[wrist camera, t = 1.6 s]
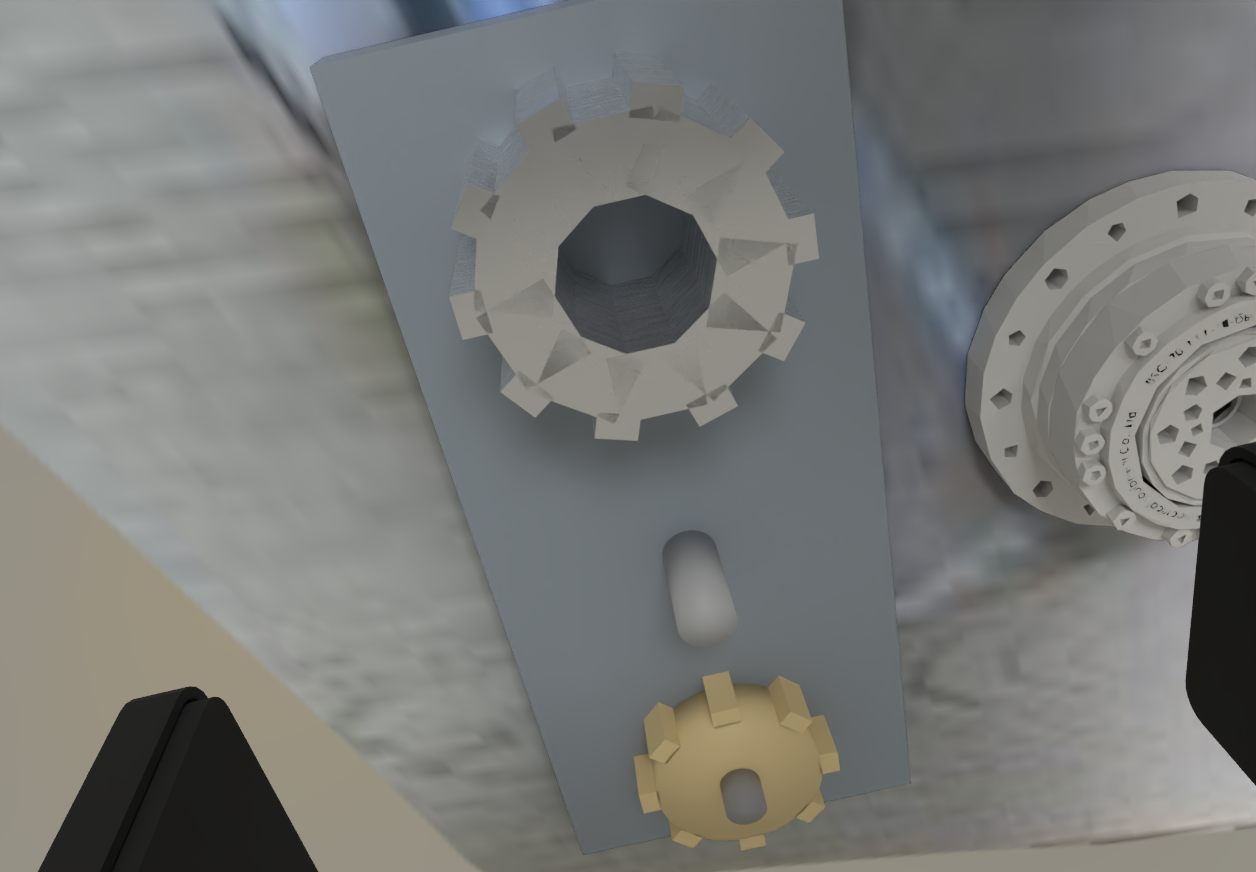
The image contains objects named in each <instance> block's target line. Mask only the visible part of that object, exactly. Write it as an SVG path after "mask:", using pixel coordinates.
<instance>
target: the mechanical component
mask: <svg viewBox="0 0 1256 872" xmlns="http://www.w3.org/2000/svg"><path fill="white" fill-rule="evenodd" d="M965 407H966V410H967V414H968V417H969V420H970V424H971V427H972V431H973V434H974V438H975V441H976V443H977V444H978V446H979V447H980V449H981V450H982V452H983V453H984V455H985V456H986V458H987V459H988V461H989V462H990V463H991V465H992V466H993V468H994V469H995V471H996V472H997V473H998V474H999V476H1000V477H1001V478H1002V479H1003V480H1004V482H1005V483H1006V484H1007V485H1008V487H1009V488H1010V489H1011V490H1012V491H1013V493H1014V494H1016V495H1017V496H1019V497H1020V498H1022V499H1023V500H1025V501H1026V502H1028V503H1029V504H1031V505H1032V506H1034V507H1036V508H1037V509H1039V510H1040V511H1042V512H1045V513H1048V514H1051V515H1053V516H1056V517H1059V518H1061V519H1064V520H1067V521H1070V522H1072V523H1075V524H1084V525H1099V526H1114V527H1115V528H1116V529H1117V530H1118V531H1119V530H1123V531H1125V532H1127V533H1131V534H1135V535H1139V536H1143V537H1146V538H1150V539H1154V540H1166V541H1167V542H1168V543H1169V544H1170V545H1171V546H1172V547H1177V548H1180V547H1182V546H1184V545H1186V544H1187V543H1189V542H1190V541H1194V540H1198V539H1199V531H1200V521H1201V510H1202V499H1203V488H1204V481H1205V477H1206V475H1207V473H1208V472H1209V470H1210V469H1212V468H1214V467H1218V464H1219V460H1220V458H1221V456H1222V455H1223V453H1224V452H1225V451H1226V450H1228V449H1230V448H1232V447H1234V446H1239V445H1243V444H1248V443H1252V442H1256V180H1255V179H1252V178H1249V177H1246V176H1244V175H1241V174H1238V173H1236V172H1233V171H1168V172H1165V173H1161V174H1157V175H1153V176H1149V177H1145V178H1141V179H1137V180H1133V181H1129V182H1126V183H1124V184H1122V185H1120V186H1118V187H1116V188H1113V189H1111V190H1109V191H1107V192H1105V193H1102V194H1100V195H1098V196H1096V197H1094V198H1091V199H1089V200H1088V201H1086V202H1085V203H1084V204H1082V205H1081V206H1079V207H1078V208H1076V209H1075V210H1074V211H1072V212H1071V213H1069V214H1068V215H1067V216H1065V217H1064V218H1062V219H1061V220H1059V221H1058V222H1057V223H1055V224H1054V225H1052V226H1051V227H1050V228H1048V229H1047V230H1045V231H1044V232H1043V233H1042V234H1041V235H1040V237H1039V238H1038V239H1037V240H1036V241H1035V242H1034V243H1033V244H1032V245H1031V246H1030V247H1029V248H1028V250H1027V251H1026V252H1025V253H1024V254H1023V255H1022V256H1021V257H1020V258H1019V259H1018V260H1017V262H1016V263H1015V264H1014V265H1013V266H1012V267H1011V268H1010V270H1009V271H1008V272H1007V273H1006V274H1005V275H1004V276H1003V278H1002V280H1001V281H1000V283H999V285H998V286H997V288H996V290H995V291H994V293H993V295H992V296H991V298H990V300H989V301H988V303H987V305H986V306H985V308H984V310H983V313H982V316H981V318H980V321H979V324H978V327H977V330H976V332H975V335H974V338H973V341H972V344H971V346H970V349H969V352H968V355H967V372H966V390H965Z"/></svg>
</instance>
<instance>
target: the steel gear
mask: <svg viewBox="0 0 1256 872" xmlns="http://www.w3.org/2000/svg"><path fill="white" fill-rule="evenodd" d="M684 87H685V86H684V85H683V84H682V83H681V82H680V81H679V80H678V79H677V78H676V77H675V75H674V74H673V73H672V72H671V71H670V70H669V69H668V68H667V67H666V66H665V65H664V63H663V62H662V61H661V60H660V59H659V58H658V57H657V56H650V55H641V54H631V53H622V52H614V60H613V70H612V77H608V78H603V79H599V80H595V81H590V82H586V83H582V84H577V85H573V86H569V87H565V86H564V84H563V82H562V80H561V79H560V77H559V75H558V74H557V72H556V70H555V68H554V67H553V66H552V67H551V68H549V69H547V70H546V71H544V72H543V73H541V74H539V75H538V76H536V77H535V78H533V79H532V80H530V81H528V82H527V83H525V84H524V85H522V86H520V87H519V88H517V90H516V111H515V128H514V129H513V130H512V131H511V133H510V134H509V135H508V136H507V137H506V139H505V140H504V141H503V142H502V144H501V145H500V146H498V145H495V144H493V143H491V142H488V141H486V140H484V139H481V138H479V137H477V140H476V143H475V145H474V148H473V151H472V153H471V156H470V159H469V161H468V164H467V167H466V170H465V172H464V175H463V179H462V183H461V187H460V192H459V196H458V200H457V204H456V209H455V213H454V217H453V221H452V226H451V229H453V230H455V231H458V232H460V233H463V234H462V235H461V239H460V244H459V249H458V254H457V259H456V264H455V269H454V274H453V279H452V284H451V290H450V295H449V298H450V301H451V305H452V308H453V311H454V314H455V317H456V321H457V324H458V327H459V330H460V333H461V336H462V340H465V339H469V338H474V337H478V336H483V335H487V334H488V336H489V337H490V339H491V340H492V341H493V343H494V344H495V346H496V347H497V348H498V350H499V351H500V353H501V354H502V367H501V387H500V392H501V393H502V394H504V395H505V396H506V397H508V398H509V399H510V400H512V401H513V402H514V403H516V404H517V405H519V406H520V407H521V408H523V409H524V410H525V411H527V412H528V413H529V414H531V415H532V416H534V417H535V418H536V416H537V415H538V414H539V413H540V412H541V411H542V410H543V409H544V408H545V407H546V406H547V405H548V404H549V403H550V402H551V401H553V402H556V403H558V404H561V405H564V406H567V407H570V408H572V409H575V410H578V411H581V412H583V413H586V414H589V415H592V423H593V430H594V438H595V439H613V440H631V441H638V436H639V429H640V421H641V420H642V419H646V418H651V417H655V416H660V415H664V414H668V413H673V412H677V411H682V410H686V409H689V410H690V412H691V414H692V415H693V417H694V419H695V420H696V422H697V423H698V425H699V427H700V426H702V425H704V424H706V423H708V422H710V421H711V420H713V419H715V418H717V417H719V416H721V415H723V414H724V413H726V412H728V411H730V410H732V409H734V408H735V407H737V406H738V404H737V402H736V400H735V398H734V395H733V393H732V391H731V388H730V385H731V384H732V383H733V382H734V381H735V380H736V379H737V378H738V377H739V376H740V375H741V374H742V373H743V372H744V371H745V370H746V369H747V368H748V367H749V366H750V365H751V364H752V363H753V362H754V361H755V360H756V359H757V358H758V357H759V356H760V355H761V354H762V353H764V354H767V355H769V356H772V357H774V358H777V359H779V360H782V361H784V360H785V359H786V357H787V355H788V353H789V352H790V350H791V348H792V346H793V344H794V343H795V341H796V339H797V337H798V335H799V334H800V332H801V330H802V328H803V327H804V325H805V323H806V322H805V321H804V319H803V318H802V316H801V315H800V313H799V312H798V310H797V309H796V308H795V306H794V305H793V303H792V302H791V300H790V299H789V297H788V292H789V287H790V282H791V277H792V272H793V267H794V264H798V263H802V262H807V261H811V260H815V259H819V253H818V244H817V235H816V226H815V217H814V213H813V212H812V211H811V209H810V208H809V207H808V206H807V205H806V204H805V203H804V202H803V201H802V200H801V199H800V198H799V197H798V196H797V195H796V194H795V193H794V192H793V191H792V190H791V189H790V188H789V187H788V185H787V184H786V183H785V182H784V181H783V180H782V179H781V178H780V177H779V176H778V175H777V174H776V173H775V172H774V171H773V170H772V169H771V168H770V167H771V166H772V165H773V164H774V163H775V162H776V161H777V159H778V158H779V157H780V156H781V155H782V154H783V153H784V151H783V150H782V149H781V148H780V147H779V146H778V145H777V144H776V143H775V142H774V141H773V140H772V139H771V138H770V137H769V136H768V135H767V134H766V133H765V132H764V131H763V130H762V129H761V128H760V127H759V126H758V125H757V124H756V123H755V122H754V121H753V120H752V119H751V118H750V117H749V116H748V115H747V114H746V113H745V112H744V111H743V110H742V109H741V108H739V107H738V106H737V105H736V104H735V103H734V102H733V101H732V100H731V99H730V98H729V97H727V96H726V95H725V94H724V93H723V92H722V91H721V90H720V89H719V88H718V87H716V86H715V85H714V84H713V83H711V84H710V85H709V87H708V88H707V89H706V90H705V91H704V92H703V93H702V95H701V96H700V97H699V98H698V99H697V100H694V99H692V98H689V97H687V96H685V95H684ZM642 195H647V196H650V197H652V198H654V199H657V200H659V201H661V202H664V203H666V204H668V205H671V206H673V207H675V208H678V209H680V210H682V211H684V212H685V216H684V223H683V230H682V237H681V244H680V246H679V247H678V248H677V249H676V250H675V251H674V252H673V254H672V255H671V256H670V257H669V258H668V259H667V260H666V261H665V262H664V263H663V264H662V265H661V266H660V268H659V269H658V270H657V271H656V272H655V273H654V274H653V275H652V276H649V277H645V278H641V279H636V280H632V281H628V282H623V283H619V284H614V285H609V284H606V283H604V282H601V281H599V280H596V279H594V278H591V277H589V276H586V275H584V274H581V273H579V272H576V271H574V270H572V269H571V267H570V266H569V264H568V262H567V261H566V259H565V258H564V256H563V255H562V253H561V251H560V250H559V248H558V247H559V245H560V244H561V243H562V242H563V241H564V240H565V238H566V237H567V236H568V235H569V234H570V233H571V232H572V230H573V229H574V228H575V227H576V226H577V225H578V224H579V222H580V221H581V220H582V219H583V218H584V217H585V216H586V215H587V213H588V212H589V211H590V210H591V209H592V208H593V207H594V206H599V205H603V204H607V203H612V202H616V201H621V200H625V199H629V198H634V197H638V196H642Z"/></svg>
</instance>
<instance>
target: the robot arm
mask: <svg viewBox="0 0 1256 872" xmlns="http://www.w3.org/2000/svg"><path fill="white" fill-rule="evenodd" d="M1186 691H1187V695H1188V699H1189V701H1190V704H1191V706H1192V708H1193V710H1194V712H1195V714H1196V716H1197V717H1198V719H1199V720H1200V721H1201V723H1202V724H1203V725H1204V726H1205V727H1206V729H1207V730H1208V731H1209V732H1210V733H1211V734H1212V735H1213V737H1214V738H1215V739H1216V740H1217V741H1218V742H1219V744H1220V745H1221V746H1222V747H1223V748H1224V749H1225V751H1226V752H1227V753H1228V754H1229V755H1230V756H1231V757H1232V759H1233V760H1234V761H1235V762H1236V763H1237V764H1238V766H1239V767H1240V768H1241V769H1242V770H1243V771H1244V773H1245V774H1246V775H1247V776H1248V777H1249V778H1250V779H1251V781H1252V782H1253V783H1254V784H1255V785H1256V442H1252V443H1248V444H1243V445H1239V446H1234V447H1232V448H1230V449H1228V450H1226V451H1225V452H1224V453H1223V455H1222V456H1221V458H1220V460H1219V464H1218V467H1214V468H1212V469H1210V470H1209V472H1208V473H1207V475H1206V477H1205V481H1204V488H1203V499H1202V510H1201V521H1200V531H1199V542H1198V553H1197V564H1196V574H1195V585H1194V596H1193V607H1192V617H1191V628H1190V639H1189V650H1188V661H1187V671H1186ZM38 872H318V871H317V869H316V867H315V865H314V863H313V861H312V860H311V858H310V857H309V854H308V852H307V851H306V849H305V847H304V845H303V843H302V841H301V840H300V838H299V836H298V834H297V832H296V830H295V829H294V827H293V825H292V823H291V821H290V819H289V817H288V816H287V814H286V812H285V810H284V808H283V806H282V805H281V803H280V801H279V799H278V797H277V795H276V794H275V792H274V790H273V788H272V786H271V784H270V783H269V781H268V779H267V777H266V775H265V773H264V771H263V770H262V768H261V766H260V764H259V762H258V761H257V759H256V757H255V755H254V753H253V751H252V749H251V748H250V746H249V744H248V742H247V740H246V738H245V737H244V735H243V733H242V731H241V729H240V727H239V726H238V724H237V722H236V720H235V719H234V717H233V715H232V713H231V711H230V709H229V707H228V706H227V705H226V703H225V702H224V701H223V700H222V699H221V698H219V697H212V698H207V696H206V695H205V694H204V692H203V691H201V690H200V689H198V688H197V687H185V688H181V689H177V690H172V691H168V692H163V693H159V694H155V695H151V696H146V697H142V698H137V699H133V700H131V701H130V702H128V703H126V704H125V706H124V707H123V708H122V710H121V711H120V713H119V715H118V717H117V719H116V721H115V723H114V725H113V726H112V728H111V731H110V732H109V734H108V736H107V738H106V740H105V742H104V744H103V746H102V748H101V750H100V752H99V754H98V756H97V758H96V760H95V761H94V763H93V766H92V767H91V769H90V771H89V773H88V775H87V777H86V779H85V781H84V783H83V785H82V787H81V789H80V791H79V793H78V795H77V797H76V799H75V800H74V802H73V804H72V806H71V808H70V810H69V812H68V814H67V816H66V818H65V820H64V822H63V824H62V826H61V828H60V830H59V832H58V834H57V836H56V838H55V839H54V841H53V843H52V845H51V847H50V849H49V851H48V853H47V855H46V857H45V859H44V861H43V863H42V865H41V867H40V869H39V871H38Z"/></svg>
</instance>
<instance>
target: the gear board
mask: <svg viewBox="0 0 1256 872" xmlns="http://www.w3.org/2000/svg"><path fill="white" fill-rule="evenodd" d="M614 52H622V53H631V54H641V55H650V56H657V57H658V58H659V59H660V60H661V61H662V62H663V63H664V65H665V66H666V67H667V68H668V69H669V70H670V71H671V72H672V73H673V74H674V75H675V77H676V78H677V79H678V80H679V81H680V82H681V83H682V84H683V85H684V86H685V87H684V95H685V96H687V97H689V98H692V99H694V100H697V99H698V98H699V97H700V96H701V95H702V93H703V92H704V91H705V90H706V89H707V88H708V87H709V85H710V84H711V83H713V84H714V85H715V86H716V87H718V88H719V89H720V90H721V91H722V92H723V93H724V94H725V95H726V96H727V97H729V98H730V99H731V100H732V101H733V102H734V103H735V104H736V105H737V106H738V107H739V108H741V109H742V110H743V111H744V112H745V113H746V114H747V115H748V116H749V117H750V118H751V119H752V120H753V121H754V122H755V123H756V124H757V125H758V126H759V127H760V128H761V129H762V130H763V131H764V132H765V133H766V134H767V135H768V136H769V137H770V138H771V139H772V140H773V141H774V142H775V143H776V144H777V145H778V146H779V147H780V148H781V149H782V150H783V151H784V153H783V154H782V155H781V156H780V157H779V158H778V159H777V161H776V162H775V163H774V164H773V165H772V166H771V167H770V168H771V169H772V170H773V171H774V172H775V173H776V174H777V175H778V176H779V177H780V178H781V179H782V180H783V181H784V182H785V183H786V184H787V185H788V187H789V188H790V189H791V190H792V191H793V192H794V193H795V194H796V195H797V196H798V197H799V198H800V199H801V200H802V201H803V202H804V203H805V204H806V205H807V206H808V207H809V208H810V209H811V211H812V212H813V213H814V217H815V226H816V235H817V244H818V253H819V259H815V260H811V261H807V262H802V263H798V264H794V267H793V272H792V277H791V282H790V287H789V292H788V297H789V299H790V300H791V302H792V303H793V305H794V306H795V308H796V309H797V310H798V312H799V313H800V315H801V316H802V318H803V319H804V321H805V322H806V323H805V325H804V327H803V328H802V330H801V332H800V334H799V335H798V337H797V339H796V341H795V343H794V344H793V346H792V348H791V350H790V352H789V353H788V355H787V357H786V359H785V360H784V361H782V360H779V359H777V358H774V357H772V356H769V355H767V354H764V353H762V354H761V355H760V356H759V357H758V358H757V359H756V360H755V361H754V362H753V363H752V364H751V365H750V366H749V367H748V368H747V369H746V370H745V371H744V372H743V373H742V374H741V375H740V376H739V377H738V378H737V379H736V380H735V381H734V382H733V383H732V384H731V385H730V388H731V391H732V393H733V395H734V398H735V400H736V402H737V404H738V406H737V407H735V408H734V409H732V410H730V411H728V412H726V413H724V414H723V415H721V416H719V417H717V418H715V419H713V420H711V421H710V422H708V423H706V424H704V425H702V426H700V427H699V425H698V423H697V422H696V420H695V419H694V417H693V415H692V414H691V412H690V410H689V409H686V410H682V411H677V412H673V413H668V414H664V415H660V416H655V417H651V418H646V419H642V420H641V421H640V429H639V436H638V441H631V440H613V439H595V438H594V430H593V423H592V415H589V414H586V413H583V412H581V411H578V410H575V409H572V408H570V407H567V406H564V405H561V404H558V403H556V402H553V401H551V402H550V403H549V404H548V405H547V406H546V407H545V408H544V409H543V410H542V411H541V412H540V413H539V414H538V415H537V416H536V418H535V417H534V416H532V415H531V414H529V413H528V412H527V411H525V410H524V409H523V408H521V407H520V406H519V405H517V404H516V403H514V402H513V401H512V400H510V399H509V398H508V397H506V396H505V395H504V394H502V393H501V392H500V387H501V367H502V354H501V353H500V351H499V350H498V348H497V347H496V346H495V344H494V343H493V341H492V340H491V339H490V337H489V336H488V334H487V335H483V336H478V337H474V338H469V339H465V340H462V336H461V333H460V330H459V327H458V324H457V321H456V317H455V314H454V311H453V308H452V305H451V301H450V298H449V295H450V290H451V284H452V279H453V274H454V269H455V264H456V259H457V254H458V249H459V244H460V239H461V235H462V234H463V233H460V232H458V231H455V230H453V229H451V226H452V221H453V217H454V213H455V209H456V204H457V200H458V196H459V192H460V187H461V183H462V179H463V175H464V172H465V170H466V167H467V164H468V161H469V159H470V156H471V153H472V151H473V148H474V145H475V143H476V140H477V137H479V138H481V139H484V140H486V141H488V142H491V143H493V144H495V145H498V146H500V145H501V144H502V142H503V141H504V140H505V139H506V137H507V136H508V135H509V134H510V133H511V131H512V130H513V129H514V128H515V111H516V90H517V88H519V87H520V86H522V85H524V84H525V83H527V82H528V81H530V80H532V79H533V78H535V77H536V76H538V75H539V74H541V73H543V72H544V71H546V70H547V69H549V68H551V67H552V66H553V67H554V68H555V70H556V72H557V74H558V75H559V77H560V79H561V80H562V82H563V84H564V86H565V87H569V86H573V85H577V84H582V83H586V82H590V81H595V80H599V79H603V78H608V77H612V70H613V60H614ZM310 70H311V73H312V76H313V79H314V82H315V84H316V87H317V90H318V93H319V96H320V99H321V102H322V105H323V107H324V110H325V113H326V116H327V119H328V122H329V125H330V128H331V130H332V133H333V136H334V139H335V142H336V145H337V148H338V151H339V154H340V156H341V159H342V162H343V165H344V168H345V171H346V174H347V177H348V179H349V182H350V185H351V188H352V191H353V194H354V197H355V200H356V203H357V205H358V208H359V211H360V214H361V217H362V220H363V223H364V226H365V228H366V231H367V234H368V237H369V240H370V243H371V246H372V249H373V251H374V254H375V257H376V260H377V263H378V266H379V269H380V272H381V275H382V277H383V280H384V283H385V286H386V289H387V292H388V295H389V298H390V300H391V303H392V306H393V309H394V312H395V315H396V318H397V321H398V324H399V326H400V329H401V332H402V335H403V338H404V341H405V344H406V347H407V349H408V352H409V355H410V358H411V361H412V364H413V367H414V370H415V372H416V375H417V378H418V381H419V384H420V387H421V390H422V393H423V396H424V398H425V401H426V404H427V407H428V410H429V413H430V416H431V419H432V421H433V424H434V427H435V430H436V433H437V436H438V439H439V442H440V444H441V447H442V450H443V453H444V456H445V459H446V462H447V465H448V468H449V470H450V473H451V476H452V479H453V482H454V485H455V488H456V491H457V493H458V496H459V499H460V502H461V505H462V508H463V511H464V514H465V517H466V519H467V522H468V525H469V528H470V531H471V534H472V537H473V540H474V542H475V545H476V548H477V551H478V554H479V557H480V560H481V563H482V565H483V568H484V571H485V574H486V577H487V580H488V583H489V586H490V589H491V591H492V594H493V597H494V600H495V603H496V606H497V609H498V612H499V614H500V617H501V620H502V623H503V626H504V629H505V632H506V635H507V638H508V640H509V643H510V646H511V649H512V652H513V655H514V658H515V661H516V663H517V666H518V669H519V672H520V675H521V678H522V681H523V684H524V686H525V689H526V692H527V695H528V698H529V701H530V704H531V707H532V710H533V712H534V715H535V718H536V721H537V724H538V727H539V730H540V733H541V735H542V738H543V741H544V744H545V747H546V750H547V753H548V756H549V759H550V761H551V764H552V767H553V770H554V773H555V776H556V779H557V782H558V784H559V787H560V790H561V793H562V796H563V799H564V802H565V805H566V807H567V810H568V813H569V816H570V819H571V822H572V825H573V828H574V831H575V833H576V836H577V839H578V842H579V845H580V848H581V851H582V854H583V855H586V854H591V853H595V852H600V851H604V850H609V849H613V848H618V847H622V846H627V845H632V844H636V843H641V842H645V841H650V840H654V839H659V838H664V837H668V836H671V838H672V841H675V842H677V843H680V844H683V845H685V846H688V847H690V848H694V847H695V846H696V845H697V844H698V843H699V842H700V841H701V840H702V838H706V839H712V840H739V843H740V847H741V851H743V850H748V849H753V848H757V847H762V846H766V841H765V836H764V834H766V833H769V832H772V831H774V830H776V829H778V828H780V827H782V826H784V825H786V824H787V823H789V822H791V821H792V820H793V819H795V818H798V819H801V820H803V821H806V822H808V823H810V822H811V821H812V820H813V819H814V818H815V817H816V816H817V815H818V814H819V813H820V812H821V811H822V810H823V809H824V808H825V804H824V802H828V801H832V800H837V799H841V798H846V797H850V796H855V795H860V794H864V793H869V792H873V791H878V790H882V789H887V788H891V787H896V786H901V785H905V784H910V783H911V780H910V768H909V757H908V745H907V734H906V723H905V711H904V700H903V688H902V677H901V665H900V654H899V642H898V631H897V619H896V608H895V597H894V585H893V574H892V562H891V551H890V539H889V528H888V516H887V505H886V493H885V482H884V470H883V459H882V448H881V436H880V425H879V413H878V402H877V390H876V379H875V367H874V356H873V344H872V333H871V321H870V310H869V299H868V287H867V276H866V264H865V253H864V241H863V230H862V218H861V207H860V195H859V184H858V172H857V161H856V150H855V138H854V127H853V115H852V104H851V92H850V81H849V69H848V58H847V46H846V35H845V24H844V12H843V1H842V0H567V1H563V2H558V3H554V4H550V5H546V6H541V7H537V8H533V9H529V10H524V11H520V12H516V13H511V14H507V15H503V16H499V17H494V18H490V19H486V20H481V21H477V22H473V23H469V24H464V25H460V26H456V27H452V28H447V29H443V30H439V31H434V32H430V33H426V34H422V35H417V36H413V37H409V38H404V39H400V40H396V41H392V42H387V43H383V44H379V45H375V46H370V47H366V48H362V49H357V50H353V51H349V52H345V53H340V54H336V55H332V56H327V57H323V58H322V59H320V60H319V61H318V62H316V63H315V64H313V65H312V66H311V67H310ZM684 216H685V212H684V211H682V210H680V209H678V208H675V207H673V206H671V205H668V204H666V203H664V202H661V201H659V200H657V199H654V198H652V197H650V196H647V195H642V196H638V197H634V198H629V199H625V200H621V201H616V202H612V203H607V204H603V205H599V206H594V207H593V208H592V209H591V210H590V211H589V212H588V213H587V215H586V216H585V217H584V218H583V219H582V220H581V221H580V222H579V224H578V225H577V226H576V227H575V228H574V229H573V230H572V232H571V233H570V234H569V235H568V236H567V237H566V238H565V240H564V241H563V242H562V243H561V244H560V245H559V247H558V248H559V250H560V251H561V253H562V255H563V256H564V258H565V259H566V261H567V262H568V264H569V266H570V267H571V269H572V270H574V271H576V272H579V273H581V274H584V275H586V276H589V277H591V278H594V279H596V280H599V281H601V282H604V283H606V284H609V285H614V284H619V283H623V282H628V281H632V280H636V279H641V278H645V277H649V276H652V275H653V274H654V273H655V272H656V271H657V270H658V269H659V268H660V266H661V265H662V264H663V263H664V262H665V261H666V260H667V259H668V258H669V257H670V256H671V255H672V254H673V252H674V251H675V250H676V249H677V248H678V247H679V246H680V244H681V237H682V230H683V223H684Z"/></svg>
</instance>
